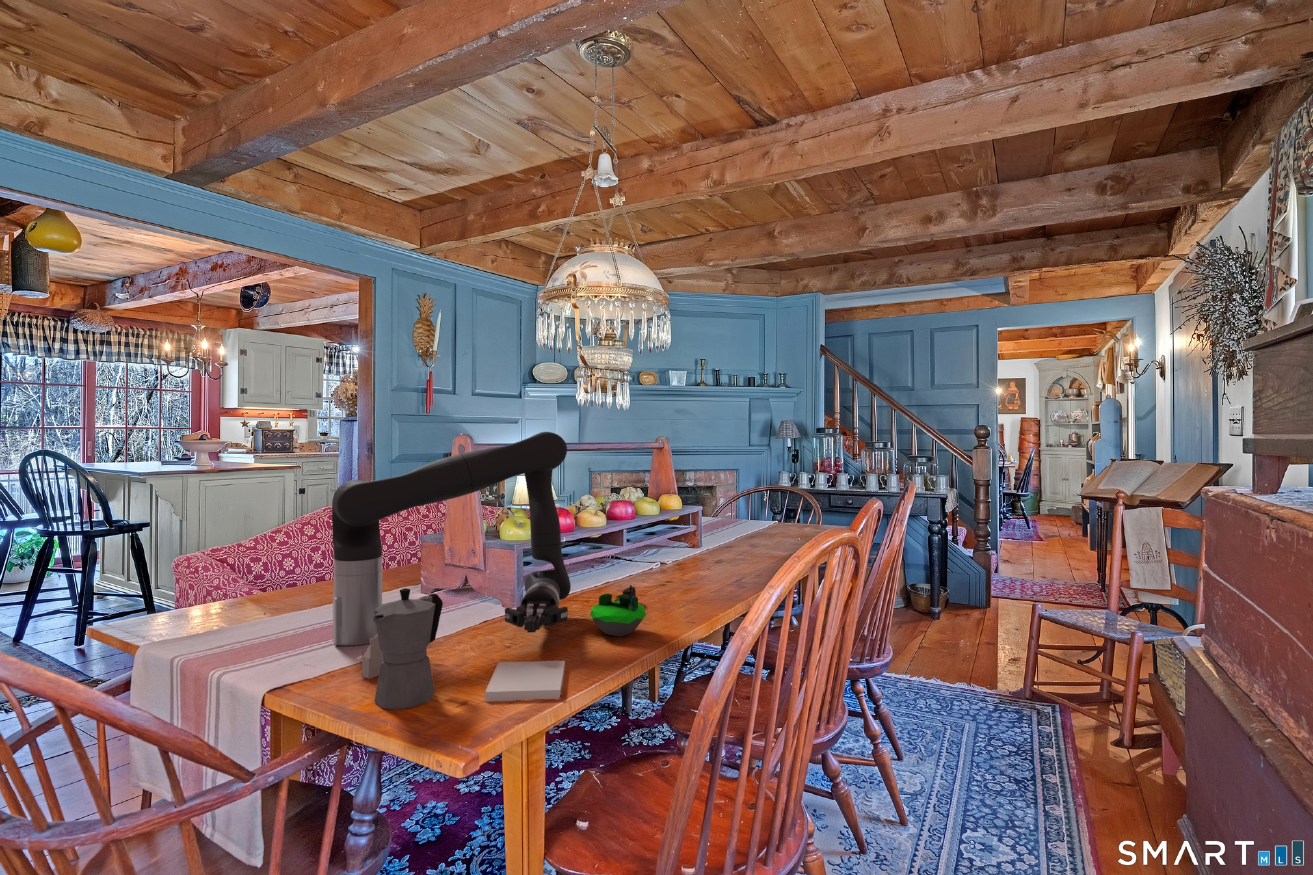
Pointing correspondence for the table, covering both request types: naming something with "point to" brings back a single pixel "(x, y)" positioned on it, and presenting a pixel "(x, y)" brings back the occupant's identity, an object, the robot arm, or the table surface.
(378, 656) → the architectural model
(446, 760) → the table surface
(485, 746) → the table surface
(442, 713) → the table surface
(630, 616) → the floating island model
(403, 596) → the coffeepot
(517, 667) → the tile
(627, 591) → the hand tool
